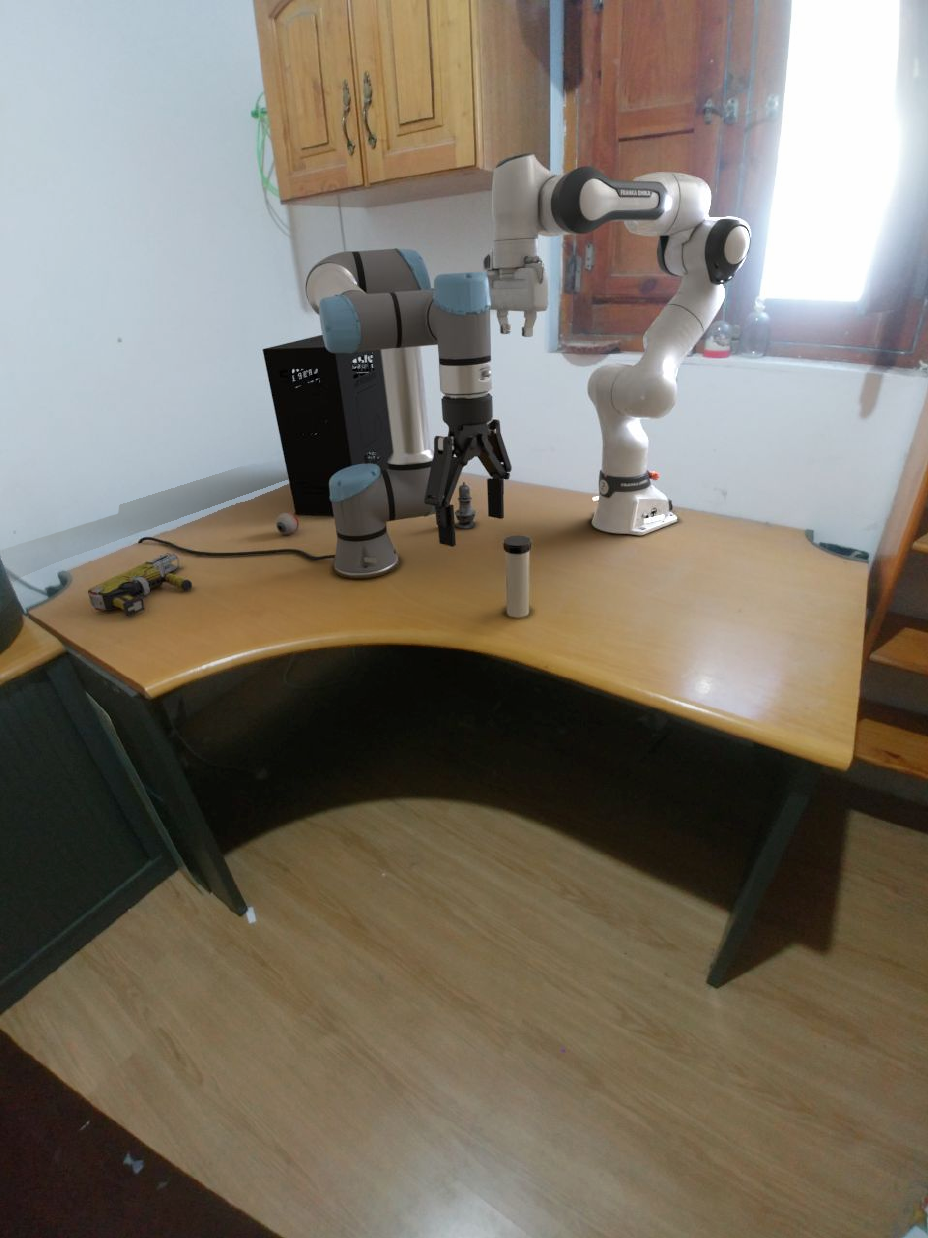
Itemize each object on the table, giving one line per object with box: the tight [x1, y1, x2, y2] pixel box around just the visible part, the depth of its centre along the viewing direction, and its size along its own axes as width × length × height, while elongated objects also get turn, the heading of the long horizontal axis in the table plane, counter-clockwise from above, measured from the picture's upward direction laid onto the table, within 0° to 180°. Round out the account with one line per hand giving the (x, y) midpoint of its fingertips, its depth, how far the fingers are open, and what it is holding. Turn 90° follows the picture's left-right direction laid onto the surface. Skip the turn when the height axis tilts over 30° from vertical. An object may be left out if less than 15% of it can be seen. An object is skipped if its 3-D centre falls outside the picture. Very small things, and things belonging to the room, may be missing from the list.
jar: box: [504, 551, 530, 619], centre depth 118 cm, size 5×5×15 cm
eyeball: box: [275, 511, 300, 536], centre depth 163 cm, size 6×6×6 cm
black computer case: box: [262, 334, 393, 516], centre depth 181 cm, size 38×20×45 cm, turn 167°
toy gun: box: [87, 552, 193, 618], centre depth 137 cm, size 5×24×15 cm
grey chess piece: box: [454, 481, 477, 529], centre depth 161 cm, size 6×6×12 cm
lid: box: [502, 534, 532, 554], centre depth 114 cm, size 5×5×2 cm
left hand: (473, 530), depth 99 cm, fingers open, 13 cm apart
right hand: (516, 335), depth 125 cm, fingers open, 8 cm apart
